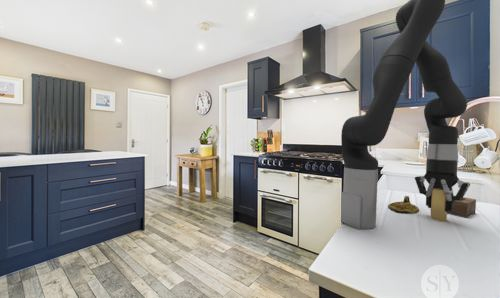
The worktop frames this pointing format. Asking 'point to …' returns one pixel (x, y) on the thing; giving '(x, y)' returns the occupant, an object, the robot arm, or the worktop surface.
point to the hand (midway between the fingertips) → (439, 209)
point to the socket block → (464, 207)
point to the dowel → (438, 205)
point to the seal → (404, 207)
